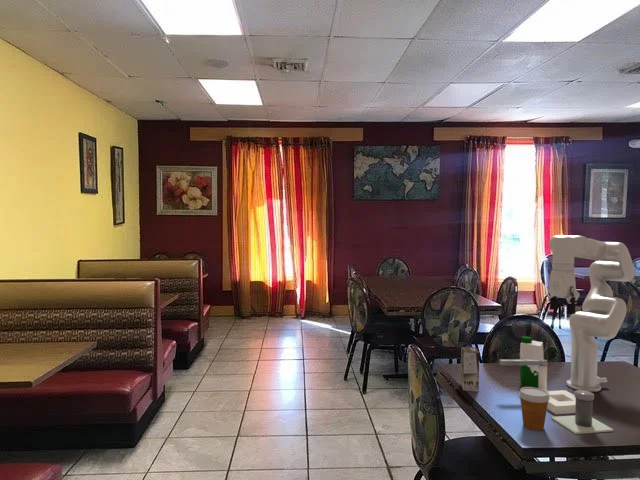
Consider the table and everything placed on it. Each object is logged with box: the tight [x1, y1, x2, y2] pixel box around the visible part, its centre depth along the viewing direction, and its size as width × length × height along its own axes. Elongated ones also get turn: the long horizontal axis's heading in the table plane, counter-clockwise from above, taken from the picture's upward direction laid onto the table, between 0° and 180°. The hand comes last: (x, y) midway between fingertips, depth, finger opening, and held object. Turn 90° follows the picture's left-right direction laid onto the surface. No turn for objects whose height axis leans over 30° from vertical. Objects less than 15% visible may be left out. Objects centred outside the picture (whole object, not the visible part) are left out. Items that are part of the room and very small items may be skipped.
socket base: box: [538, 365, 576, 415], centre depth 176 cm, size 14×20×12 cm
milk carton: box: [519, 335, 545, 388], centre depth 196 cm, size 9×9×20 cm
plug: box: [573, 389, 595, 427], centre depth 156 cm, size 6×6×10 cm
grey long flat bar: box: [499, 359, 548, 367], centre depth 183 cm, size 19×3×2 cm, turn 90°
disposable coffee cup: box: [518, 386, 550, 432], centre depth 155 cm, size 10×10×12 cm
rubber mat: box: [550, 414, 614, 435], centre depth 156 cm, size 14×12×1 cm
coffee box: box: [460, 346, 480, 392], centre depth 191 cm, size 9×6×16 cm
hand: (562, 311), depth 179 cm, fingers open, 9 cm apart
